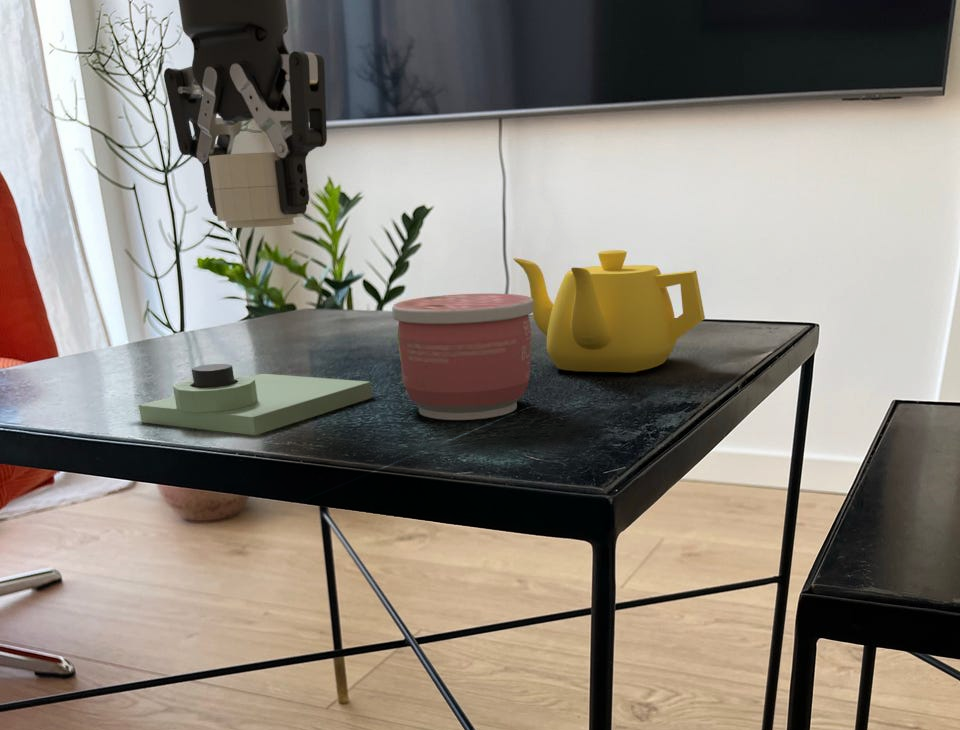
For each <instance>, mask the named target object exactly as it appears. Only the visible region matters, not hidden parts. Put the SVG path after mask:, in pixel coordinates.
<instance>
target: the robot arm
mask: <svg viewBox="0 0 960 730" xmlns="http://www.w3.org/2000/svg"><path fill="white" fill-rule="evenodd" d="M178 5H179V6H178V7H179V13H180V20H181V27H182V30H183V31H182V32H184V34H185V35H186V36H187V37H188V38H189V39H190V41H191V42H192V46H193V57H192V63H191V66H188V67H183V68H173V67H166V68H165V70H164V72H163V81H164V85H165V90H166V93H167V99H168V104H169V108H170V112H171V113H170V114H171V116H172V117H171V118H172V122H173V126H174V132H175V136H176V141H177V146H178V149H179V152H180V153H181V154H182V155H183V156H191V157H192V158H195V159H197V161H198V162H199V163H201V166H202V169H203V177H204V184H205V191H206V193H207V194H206V197H207V202H208V205H209V207H210V209H211V211H212V214H213V215H214V216H215V217H217V211H216V204H215V197H214V189H213V183H212V176H211V169H210V162H209V156H214V155H226V154H232V152H233V146H234V142H235V138H236V137H237V136H238V135H239V134H240V133H241V130H242V126H243V122H246V121H251V120H252V119H253V120H254V122H255V123H256V126H257V127H258V128H259V129H260V130H261V131H263V132H264V133H265V134H266V136H267V138H268V140H269V142H270V144H271V146H272V148H273V150H274V152H276V154H277V156H278V157H280V160H275V167H276V175H277V183H278V192H279V200H280V208H281V211H282V213H283V214H285V215H288V214H302V215H303V214H305V213H306V212H307V206H308V205H309V203H310V202H309V201H310V192H309V182H308V173H307V161H306V160H307V156H308V155H309V153H311V152H312V151H313V150H315V149H316V148H322V147H324V146H325V145H326V144H327V141H328V135H327V131H328V129H327V105H326V104H327V103H326V100H327V99H326V98H327V97H326V76H325V73H326V72H325V71H326V69H325V68H326V67H325V59H324V57H323V56H322V55H321V54H320V53H315V52H310V51H297V50H296V51H292V52H290V51H289V50H288V48H287V45H286V43H285V39H284V36H285V35H286V34H287V32H288V30H289V17H288V7H287V0H178ZM287 83H289V94H288V92H287V90H286V85H287ZM289 95H290V96H289ZM217 116H219V117H217ZM190 123H191V124H192V128H193V132H194V133H193V134H194V137H193V134H192V129H191V125H190Z"/></svg>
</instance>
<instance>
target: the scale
mask: <svg viewBox="0 0 960 730" xmlns="http://www.w3.org/2000/svg"><path fill="white" fill-rule="evenodd" d="M234 382H235V384H232V385H228V386H221V387H211V388H196V387H194V381H193V379H190V380H185V381H181V382H178V383H177V384H175V385H174V386H173V387H172V389H173V395H174V396H169V397H165V398H162V399H157V400H154V401H150V402H146V403H142V404H138V409H139V416H140V421H141V423H145V424H146V423H147V424H154V425H155V424H156V425H163V426H164V425H165V426H171V427H181V428H188V429H197V430H207V431H216V432H225V433H232V434H242V435H251V436H258V435H261V434H263V433H264V434H265V433H267V432H269V431H273V430H276V429H279V428H282V427H285V426H288V425H292V424H295V423H298V422H301V421H304V420H308V419H310V418H314V417H316V416H320V415H323V414H326V413H329V412H332V411H336V410H338V409H341V408H344V407H348V406H351V405H354V404H357V403H360V402H363V401H367V400H370V399H373V392H372V391H373V390H372V381H369V380H368V381H367V380H354V379H353V380H352V379H340V378H329V377H327V378H324V377H315V376H314V377H313V376H302V375H301V376H299V375H287V374H271V373H260V374H255V375H251V376H242V375H241V376H240V375H234Z"/></svg>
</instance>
